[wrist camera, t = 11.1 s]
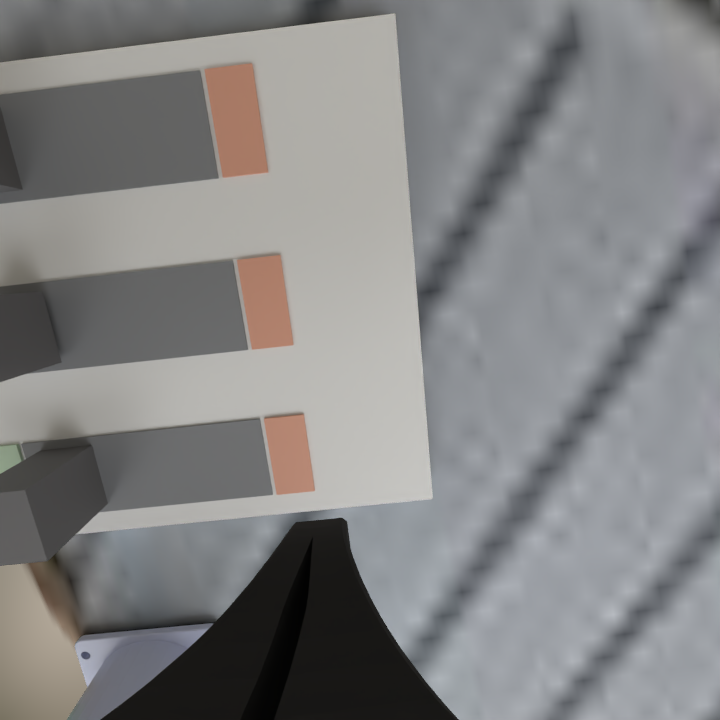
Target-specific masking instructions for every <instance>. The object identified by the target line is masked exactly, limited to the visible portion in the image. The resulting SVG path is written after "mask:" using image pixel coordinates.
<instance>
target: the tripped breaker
mask: <svg viewBox="0 0 720 720" xmlns="http://www.w3.org/2000/svg"><path fill="white" fill-rule="evenodd" d="M58 363H61V358H60V354H59V351H58V347H57V343H56V340H55V336H54V332H53V329H52V325H51V322H50V318H49V314H48V311H47V307H46V303H45V300H44V296H43V293H42V292H31V293H18V294H6V295H0V382H3V381H6V380H9V379H12V378H15V377H18V376H21V375H24V374H27V373H30V372H34V371H37V370H40V369H43V368H46V367H49V366H52V365H55V364H58Z"/></svg>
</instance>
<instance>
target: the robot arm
mask: <svg viewBox="0 0 720 720" xmlns="http://www.w3.org/2000/svg"><path fill="white" fill-rule="evenodd" d="M75 650H76V653H77V656H78V659H79V662H80V666H81V668H82V672H83V675H84V678H85V681H86V684H87V689H86V691H85V692H84V694H83V695H82V697H81V698H80V700H79V701H78V703H77V704H76V706H75V708H74V709H73V711H72V712H71V714H70V715H69V717H68V719H67V720H458V719H457V717H456V716H455V715H454V714H453V713H452V712H451V711H450V710H449V709H448V708H447V706H446V705H445V704H444V703H443V702H442V701H441V699H440V698H439V697H438V696H437V695H436V693H435V692H434V691H433V690H432V689H431V688H430V686H429V685H428V684H427V683H426V682H425V680H424V679H423V678H422V676H421V675H420V674H419V672H418V671H417V670H416V668H415V667H414V666H413V664H412V663H411V661H410V660H409V659H408V657H407V656H406V655H405V653H404V652H403V651H402V649H401V648H400V646H399V645H398V643H397V642H396V640H395V639H394V637H393V636H392V634H391V633H390V631H389V630H388V628H387V626H386V625H385V623H384V621H383V620H382V618H381V616H380V614H379V613H378V611H377V609H376V607H375V605H374V603H373V602H372V600H371V598H370V596H369V594H368V591H367V589H366V587H365V585H364V583H363V581H362V579H361V576H360V574H359V571H358V569H357V566H356V563H355V561H354V558H353V555H352V552H351V549H350V541H349V533H348V526H347V521H345V520H344V519H343V518H336V519H326V520H316V521H306V522H296V523H295V524H294V525H293V526H292V528H291V529H290V530H289V532H288V533H287V534H286V536H285V537H284V539H283V540H282V541H281V543H280V544H279V546H278V547H277V548H276V550H275V551H274V552H273V554H272V555H271V557H270V558H269V559H268V561H267V562H266V563H265V564H264V566H263V567H262V568H261V570H260V571H259V572H258V573H257V575H256V576H255V577H254V579H253V580H252V581H251V582H250V584H249V585H248V586H247V587H246V588H245V589H244V591H243V592H242V593H241V594H240V595H239V596H238V598H237V599H236V600H235V601H234V602H233V603H232V605H231V606H230V607H229V608H228V609H227V610H226V611H225V612H224V613H223V615H222V616H221V617H220V618H219V619H218V620H217V621H216V622H215V623H208V624H197V625H187V626H176V627H166V628H155V629H144V630H134V631H123V632H112V633H102V634H91V635H83V636H81V637H80V638H79V639H78V640H77V642H76V644H75Z"/></svg>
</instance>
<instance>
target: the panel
mask: <svg viewBox="0 0 720 720" xmlns="http://www.w3.org/2000/svg"><path fill="white" fill-rule="evenodd" d="M31 292H42V293H43V296H44V300H45V303H46V307H47V311H48V314H49V318H50V322H51V325H52V329H53V332H54V336H55V340H56V343H57V347H58V351H59V354H60V358H61V363H58V364H55V365H52V366H49V367H46V368H43V369H40V370H37V371H34V372H30V373H27V374H24V375H21V376H18V377H15V378H12V379H9V380H6V381H3V382H0V566H2V565H12V564H23V563H33V562H43V561H48V560H49V559H50V558H51V557H52V556H53V555H54V554H55V553H57V552H58V551H59V550H60V549H61V548H62V547H63V546H64V545H65V544H66V543H67V542H68V541H69V540H70V539H71V538H72V537H73V536H74V535H76V534H84V533H95V532H105V531H115V530H125V529H135V528H145V527H155V526H165V525H175V524H185V523H195V522H205V521H216V520H226V519H236V518H246V517H256V516H266V515H276V514H286V513H296V512H306V511H316V510H326V509H337V508H347V507H357V506H367V505H377V504H387V503H397V502H407V501H417V500H427V499H433V495H432V483H431V470H430V457H429V444H428V431H427V418H426V405H425V392H424V379H423V366H422V353H421V340H420V328H419V315H418V302H417V289H416V276H415V263H414V250H413V237H412V224H411V211H410V198H409V186H408V173H407V160H406V147H405V134H404V121H403V108H402V95H401V82H400V69H399V56H398V43H397V31H396V18H395V13H394V14H386V15H378V16H370V17H362V18H354V19H346V20H338V21H330V22H322V23H314V24H306V25H298V26H290V27H282V28H274V29H266V30H258V31H250V32H241V33H233V34H225V35H217V36H209V37H201V38H193V39H185V40H177V41H169V42H161V43H153V44H145V45H137V46H129V47H121V48H113V49H105V50H97V51H88V52H80V53H72V54H64V55H56V56H48V57H40V58H32V59H24V60H16V61H8V62H0V295H6V294H18V293H31Z"/></svg>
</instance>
